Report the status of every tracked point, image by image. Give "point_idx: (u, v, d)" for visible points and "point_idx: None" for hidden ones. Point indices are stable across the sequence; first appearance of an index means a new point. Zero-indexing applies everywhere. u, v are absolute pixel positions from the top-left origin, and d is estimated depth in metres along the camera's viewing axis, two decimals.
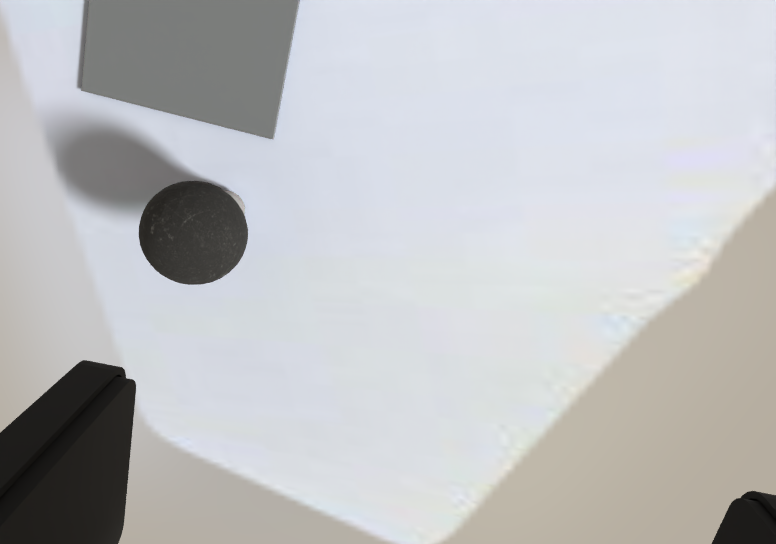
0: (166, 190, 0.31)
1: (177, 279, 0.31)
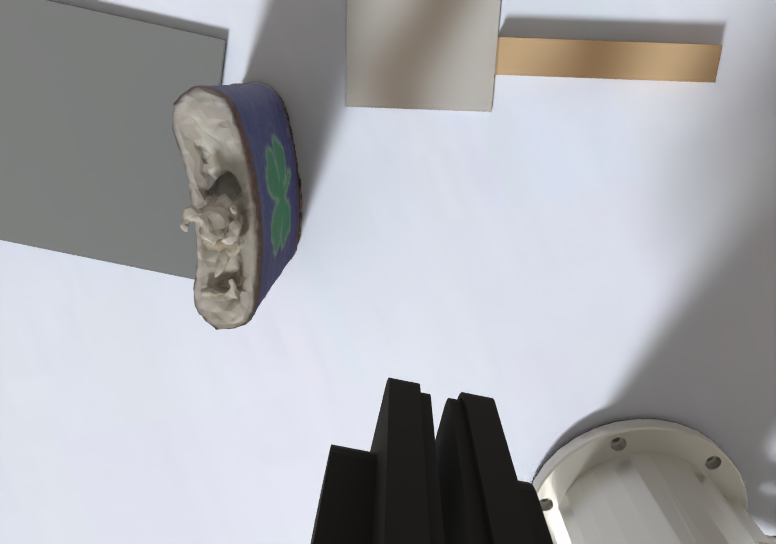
0: None
1: None
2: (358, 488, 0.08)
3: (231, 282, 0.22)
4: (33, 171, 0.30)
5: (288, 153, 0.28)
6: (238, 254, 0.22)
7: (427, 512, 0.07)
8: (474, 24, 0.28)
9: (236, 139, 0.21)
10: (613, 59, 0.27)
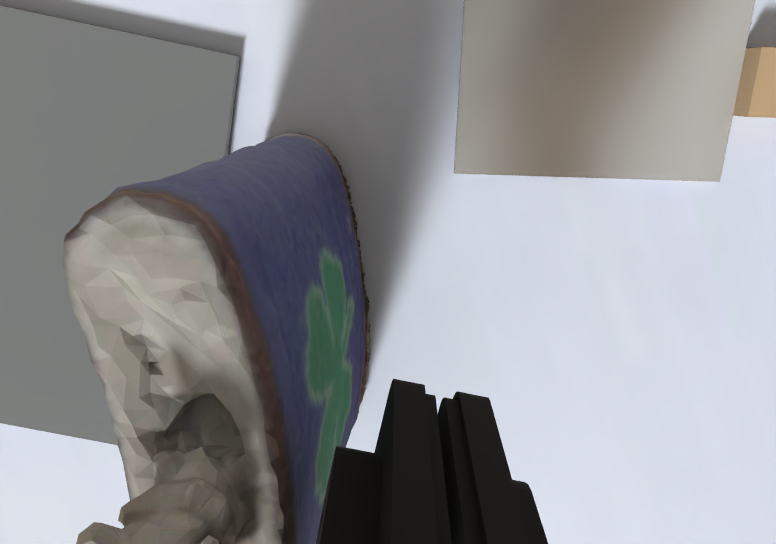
0: None
1: None
2: (364, 490, 0.08)
3: None
4: None
5: (350, 267, 0.15)
6: None
7: (434, 514, 0.07)
8: (704, 23, 0.15)
9: (227, 329, 0.08)
10: None
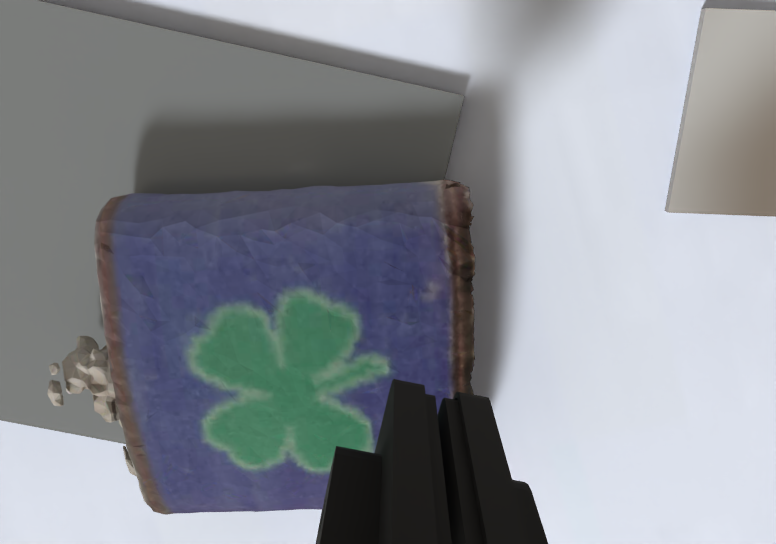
0: None
1: None
2: (364, 490, 0.08)
3: (124, 451, 0.16)
4: (100, 320, 0.17)
5: (393, 330, 0.14)
6: None
7: (433, 514, 0.07)
8: None
9: (98, 282, 0.14)
10: None
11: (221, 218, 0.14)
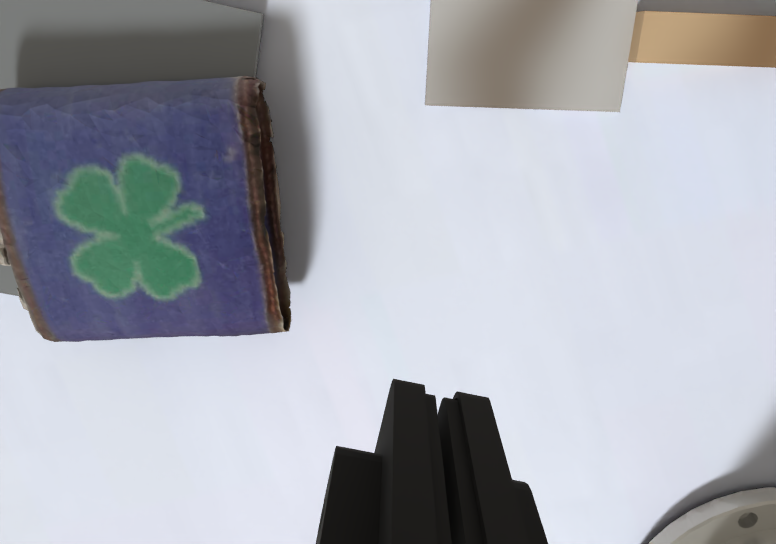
0: None
1: None
2: (365, 490, 0.08)
3: (18, 291, 0.21)
4: None
5: (205, 184, 0.19)
6: None
7: (434, 514, 0.07)
8: None
9: None
10: None
11: (74, 102, 0.19)
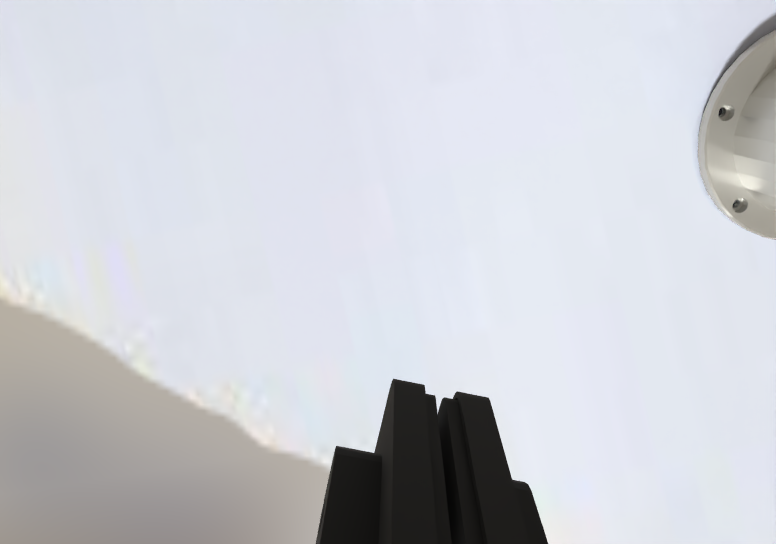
0: None
1: None
2: (364, 490, 0.08)
3: None
4: None
5: None
6: None
7: (434, 514, 0.07)
8: None
9: None
10: None
11: None
